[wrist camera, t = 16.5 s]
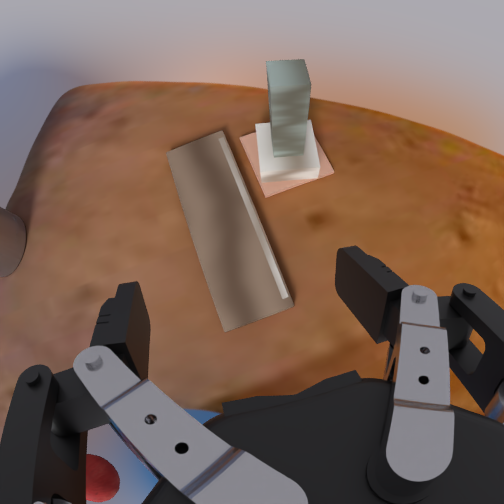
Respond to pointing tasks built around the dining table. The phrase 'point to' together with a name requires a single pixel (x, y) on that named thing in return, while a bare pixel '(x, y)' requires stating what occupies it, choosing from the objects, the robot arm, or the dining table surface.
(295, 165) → the tall grey square pillar
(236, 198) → the grey-brown board
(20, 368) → the dining table surface
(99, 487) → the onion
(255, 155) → the end pad
